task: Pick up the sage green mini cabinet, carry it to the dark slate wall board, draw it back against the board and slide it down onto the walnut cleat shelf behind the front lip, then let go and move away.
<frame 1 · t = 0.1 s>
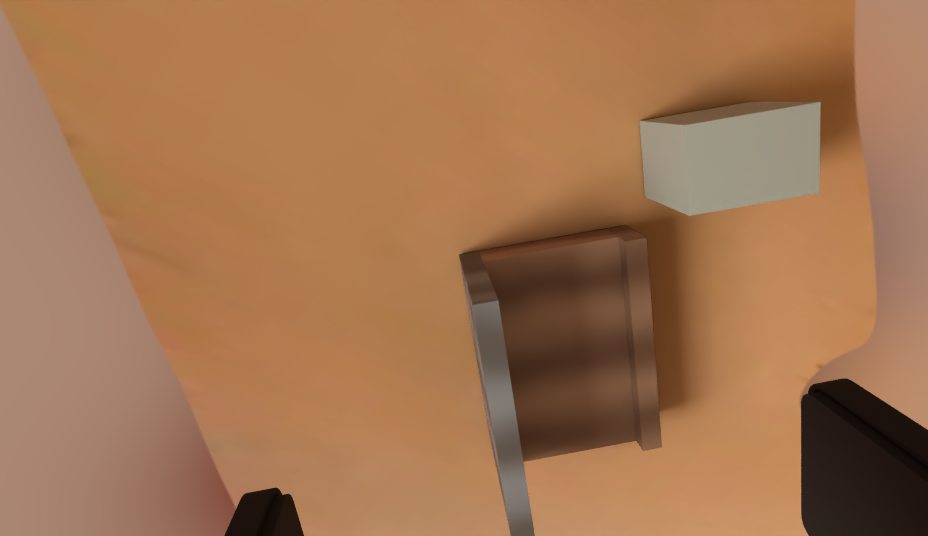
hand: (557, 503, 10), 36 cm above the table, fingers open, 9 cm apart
mini cabinet: (697, 149, 46), on the table
wall board: (534, 345, 50), on the table
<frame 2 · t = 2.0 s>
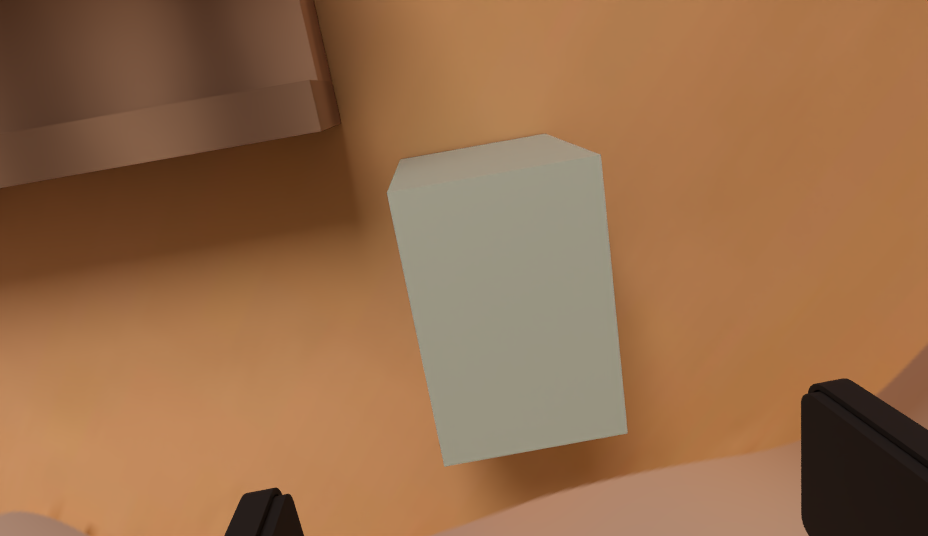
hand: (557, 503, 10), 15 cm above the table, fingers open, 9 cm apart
mini cabinet: (489, 251, 25), on the table
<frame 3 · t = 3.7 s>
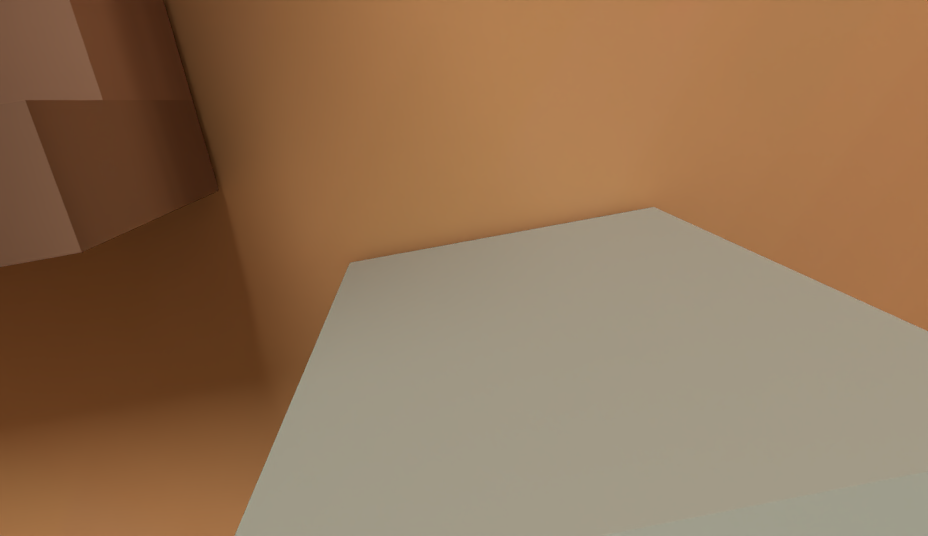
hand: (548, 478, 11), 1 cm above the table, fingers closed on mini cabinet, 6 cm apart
mini cabinet: (533, 435, 13), on the table, touching gripper
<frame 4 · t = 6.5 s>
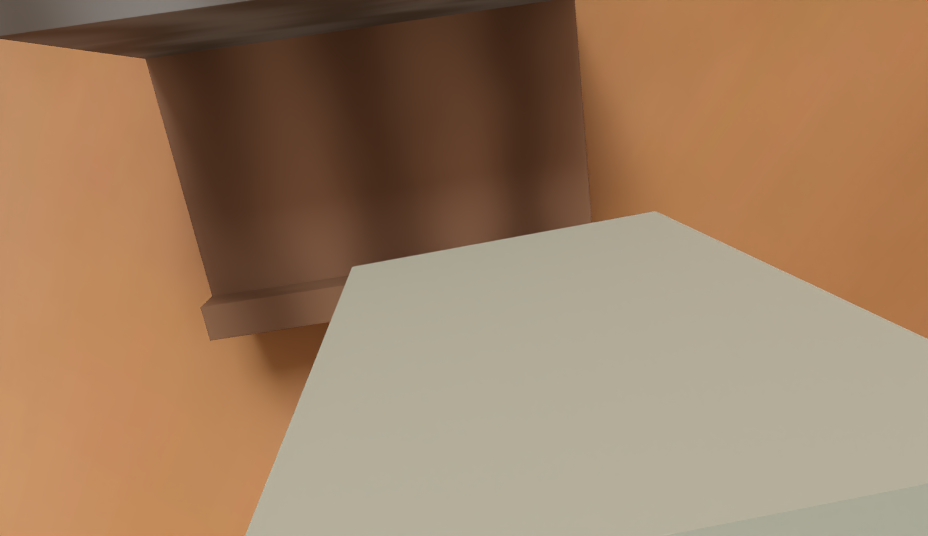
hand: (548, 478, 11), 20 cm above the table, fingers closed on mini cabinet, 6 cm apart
mini cabinet: (535, 438, 13), point 18 cm above the table, touching gripper
wall board: (381, 109, 28), on the table
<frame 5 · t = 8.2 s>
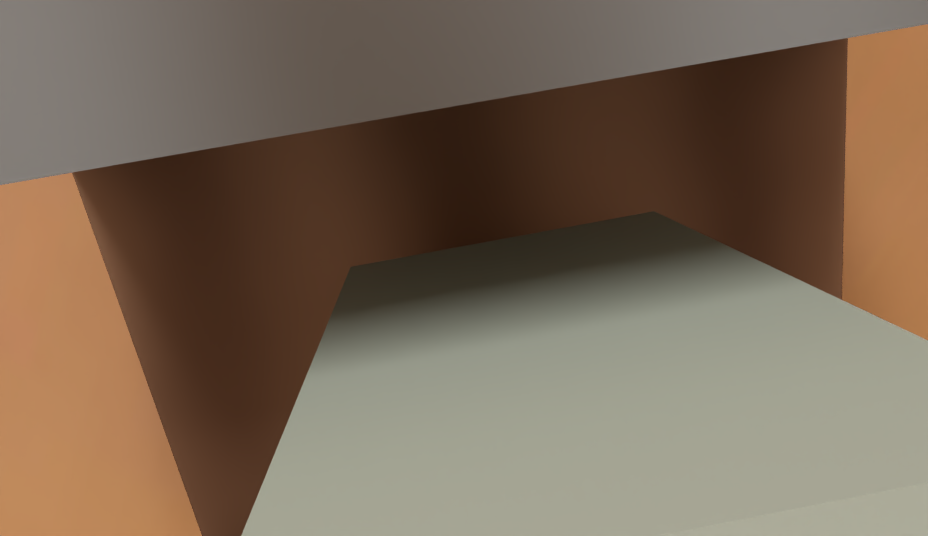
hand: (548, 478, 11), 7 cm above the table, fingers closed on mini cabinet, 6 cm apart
mini cabinet: (534, 438, 13), point 6 cm above the table, touching gripper
wall board: (476, 216, 17), on the table
when the fingers open (5 cm above the table, at t = 9.6 s): mini cabinet stays where it is, resting on wall board.
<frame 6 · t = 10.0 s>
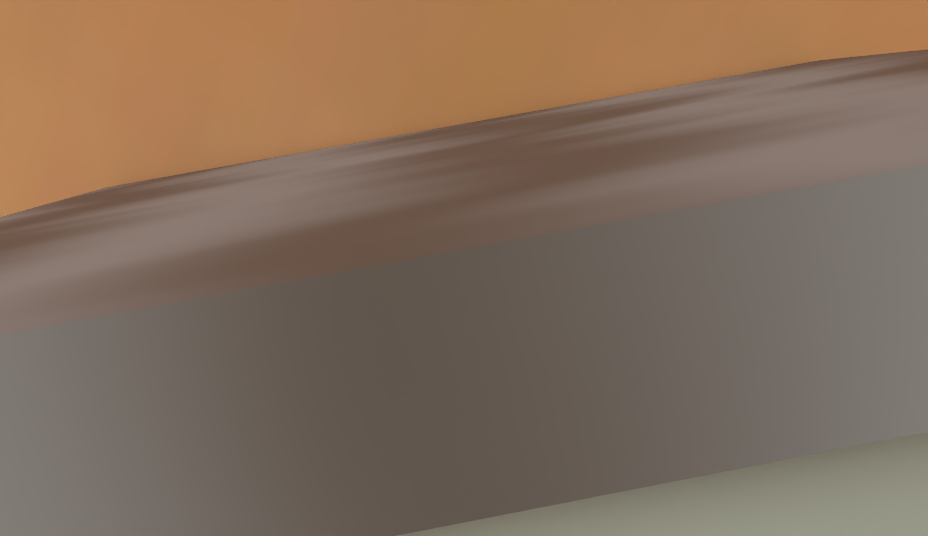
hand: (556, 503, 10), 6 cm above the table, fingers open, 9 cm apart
mini cabinet: (530, 415, 13), point 3 cm above the table, touching wall board
wall board: (499, 309, 16), on the table
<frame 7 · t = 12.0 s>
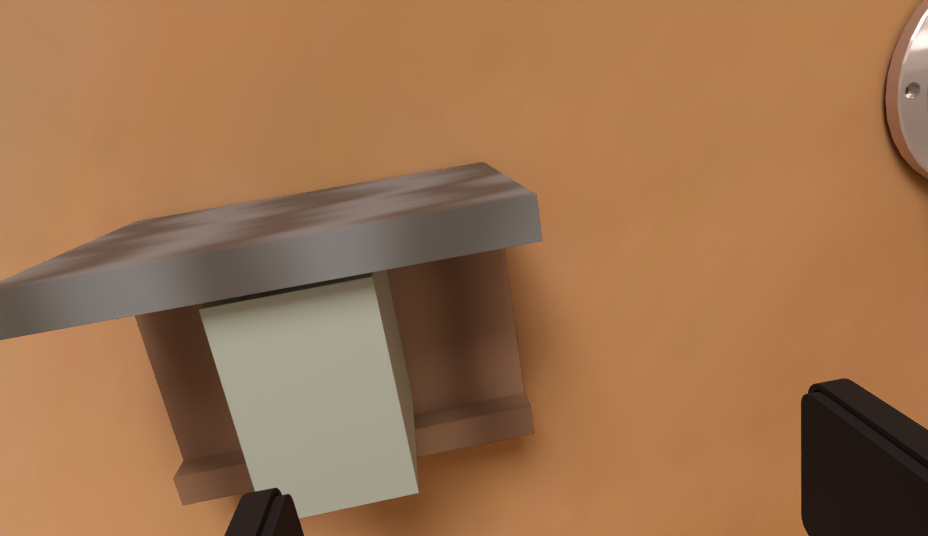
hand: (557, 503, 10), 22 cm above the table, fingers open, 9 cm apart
mini cabinet: (336, 328, 29), point 3 cm above the table, touching wall board
wall board: (333, 282, 32), on the table
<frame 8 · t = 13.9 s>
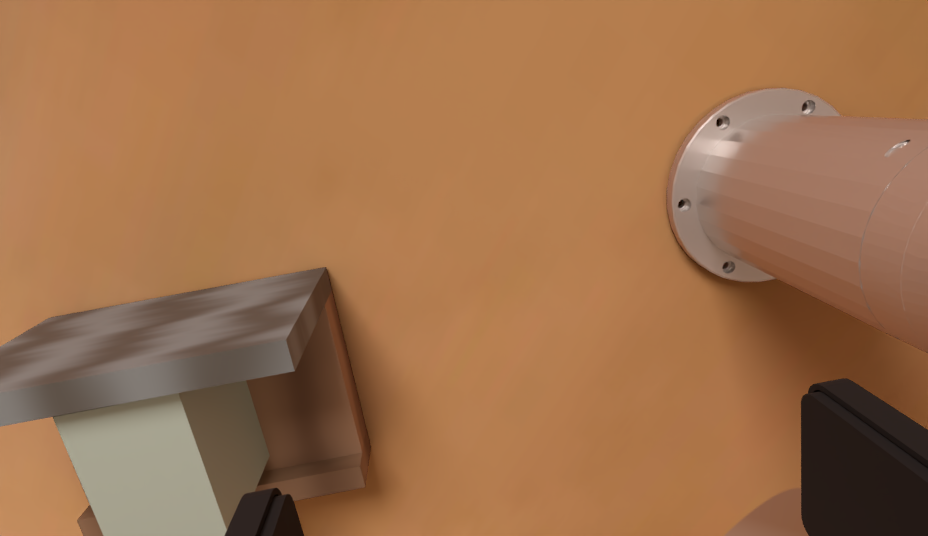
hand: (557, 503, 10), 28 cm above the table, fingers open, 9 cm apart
mini cabinet: (203, 404, 37), point 3 cm above the table, touching wall board
wall board: (210, 361, 39), on the table
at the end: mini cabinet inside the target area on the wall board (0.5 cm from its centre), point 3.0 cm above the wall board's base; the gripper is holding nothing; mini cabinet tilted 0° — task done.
